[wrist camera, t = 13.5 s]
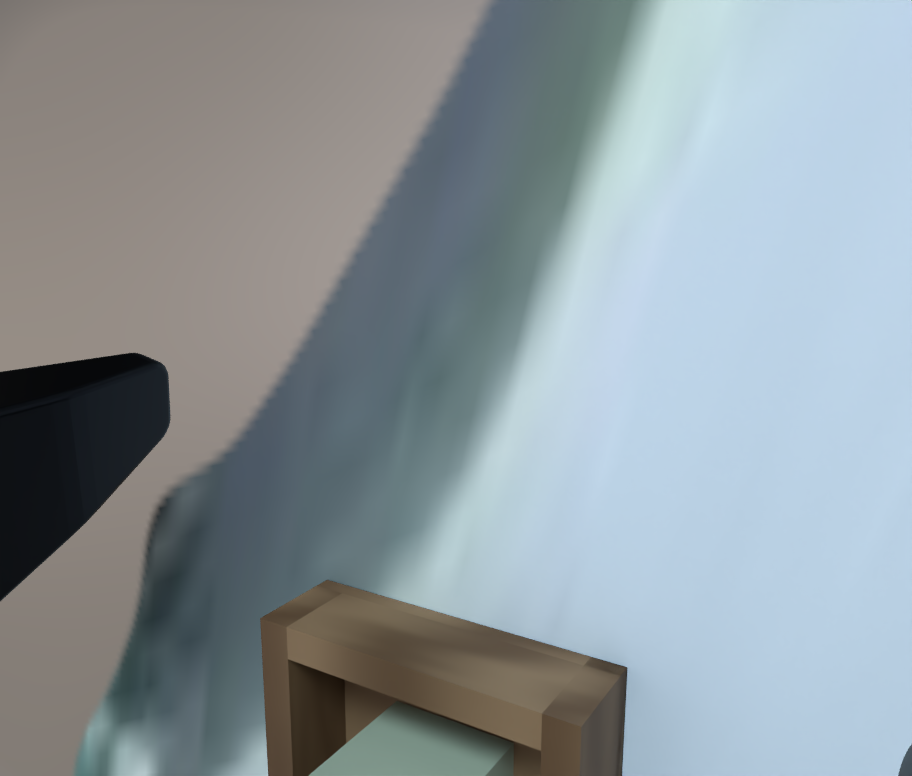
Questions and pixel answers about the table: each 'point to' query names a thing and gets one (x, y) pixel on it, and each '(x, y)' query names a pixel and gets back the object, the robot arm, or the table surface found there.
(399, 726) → the post
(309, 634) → the socket base
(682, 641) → the table surface
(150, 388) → the robot arm
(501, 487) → the table surface
